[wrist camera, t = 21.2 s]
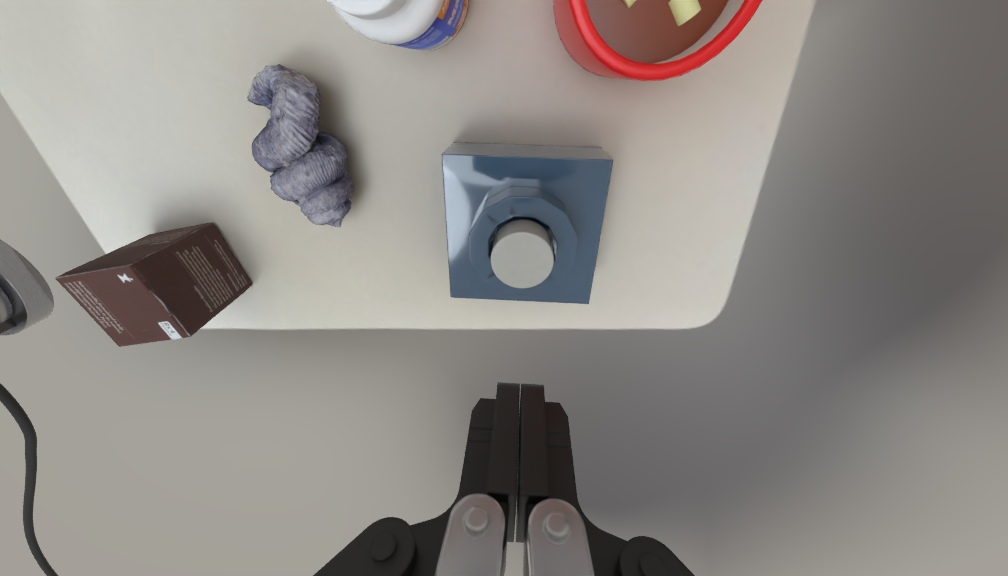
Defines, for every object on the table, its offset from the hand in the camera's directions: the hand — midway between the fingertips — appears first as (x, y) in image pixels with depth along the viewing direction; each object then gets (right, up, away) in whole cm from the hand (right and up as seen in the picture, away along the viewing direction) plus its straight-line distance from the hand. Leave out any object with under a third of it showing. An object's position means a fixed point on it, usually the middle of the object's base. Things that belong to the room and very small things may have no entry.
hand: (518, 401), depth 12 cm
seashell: (-13, +14, +14) cm, 23 cm away
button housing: (+1, +9, +15) cm, 18 cm away
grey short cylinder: (+1, +6, +10) cm, 12 cm away
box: (-26, +6, +19) cm, 32 cm away
